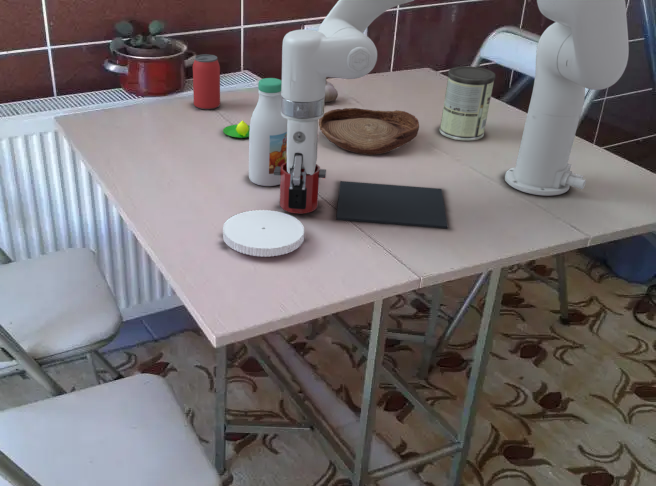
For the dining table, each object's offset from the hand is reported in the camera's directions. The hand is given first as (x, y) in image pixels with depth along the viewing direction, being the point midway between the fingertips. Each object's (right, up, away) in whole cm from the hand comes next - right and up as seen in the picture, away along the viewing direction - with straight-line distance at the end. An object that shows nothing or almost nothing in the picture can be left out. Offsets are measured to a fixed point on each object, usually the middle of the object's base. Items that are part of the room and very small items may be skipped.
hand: (299, 197), depth 139 cm
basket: (+17, +18, +31) cm, 40 cm away
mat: (+18, -1, +3) cm, 18 cm away
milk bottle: (-6, +5, +12) cm, 14 cm away
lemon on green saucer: (-12, +19, +32) cm, 39 cm away
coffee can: (+40, +20, +35) cm, 57 cm away
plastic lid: (-7, -9, -10) cm, 15 cm away
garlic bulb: (+9, +32, +52) cm, 62 cm away
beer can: (-20, +29, +48) cm, 59 cm away
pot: (0, -1, +1) cm, 1 cm away
